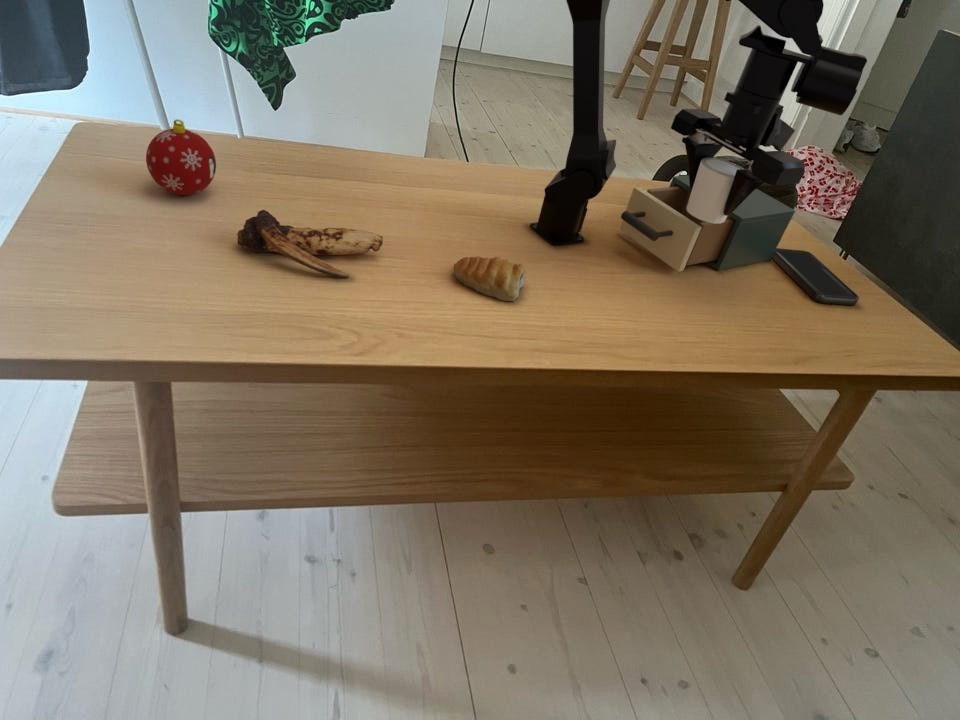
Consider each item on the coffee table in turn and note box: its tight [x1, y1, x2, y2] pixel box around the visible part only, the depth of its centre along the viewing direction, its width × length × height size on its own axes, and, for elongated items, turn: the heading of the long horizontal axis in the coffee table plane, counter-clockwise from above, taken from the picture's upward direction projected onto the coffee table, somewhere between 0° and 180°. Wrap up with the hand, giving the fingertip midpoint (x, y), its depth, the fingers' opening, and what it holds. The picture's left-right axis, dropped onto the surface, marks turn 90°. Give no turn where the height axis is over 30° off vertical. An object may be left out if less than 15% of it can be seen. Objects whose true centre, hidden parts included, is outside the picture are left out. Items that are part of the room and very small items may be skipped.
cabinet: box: [669, 174, 796, 272], centre depth 112 cm, size 14×15×9 cm
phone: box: [771, 247, 860, 306], centre depth 110 cm, size 8×1×15 cm
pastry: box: [452, 256, 526, 302], centre depth 89 cm, size 9×7×4 cm
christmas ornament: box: [145, 118, 217, 196], centre depth 91 cm, size 9×9×10 cm
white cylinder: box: [686, 157, 745, 224], centre depth 94 cm, size 7×7×7 cm
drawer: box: [619, 186, 736, 273], centre depth 105 cm, size 17×13×7 cm
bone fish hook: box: [236, 209, 384, 279], centre depth 85 cm, size 9×5×18 cm
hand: (709, 204), depth 95 cm, fingers closed on white cylinder, 6 cm apart
